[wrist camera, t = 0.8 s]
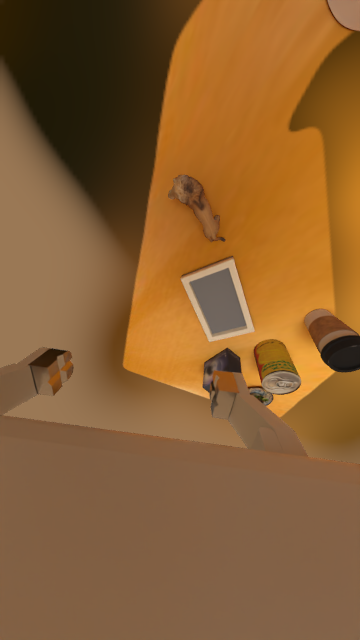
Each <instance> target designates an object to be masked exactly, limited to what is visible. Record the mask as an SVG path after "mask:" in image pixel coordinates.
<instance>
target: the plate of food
mask: <svg viewBox="0 0 360 640" xmlns="http://www.w3.org/2000/svg"><path fill="white" fill-rule="evenodd" d="M248 390H249V393H250V395H253V396H254V397H256V398H257V399H258V400H259V401H260V402H261V403H263V404H264V405H265V406H266V405H269V404H270V403H271V402H272V400H273V395H272V393H269V392H267V391H266V390H265V389H262V388H249V389H248Z"/></svg>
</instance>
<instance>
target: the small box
mask: <svg viewBox="0 0 360 640" xmlns="http://www.w3.org/2000/svg"><path fill="white" fill-rule="evenodd" d="M214 370H216V371H224V372H235V373H241V374H242V372H241V364H240V358H239V357H238V356H237V355H236V354H234V353H233V352H232V351H231V350H230V349H228V348H226V349H225V350H223V351H222V352H220V353H219V354H217V355H216V356H214V357H212V358H211V359H209V360H208V361H206V362H205V365H204V378H203V388H204V389H205V390H207V391H208V392H209V393H210V385H211V382H212V381H213V372H214Z"/></svg>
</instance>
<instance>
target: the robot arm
mask: <svg viewBox="0 0 360 640" xmlns="http://www.w3.org/2000/svg"><path fill="white" fill-rule="evenodd" d="M328 4H329V7H330V9H331V11H332V13H333V15H334V16H335V18H336V19H337V20H338V21H339V22H340V23H341V24H342V25H343V26H345V27H347V28H349V29H352V30H357V31H360V0H328ZM71 358H72V355H71V352H70V351H66V350H59V349H53V348H52V349H51V348H45V347H42V348H39V349H38V350H36V351H35V352H33V353H32V354H30V355H29V356H28V357H26V358H25V359H23V360H22V361H20V362H19V363H17V364H11V365H8V366H4V367H2V368H0V640H360V464H357V463H349V462H343V461H335V460H328V459H321V458H313V457H308V455H307V453H306V452H305V450H304V448H303V446H302V444H301V442H300V440H299V439H298V437H297V435H296V433H295V431H294V430H292V429H291V428H290V427H289V426H288V425H287V424H286V423H285V422H283V421H282V420H281V419H280V418H279V417H278V416H276V415H275V414H274V413H273V412H272V411H271V410H269V409H268V408H267V407H266V406H265V405H264V404H263V403H261V402H260V401H259V400H258V399H257V398H256V397H254V396H253V395H250V393H249V390H248V388H247V385H246V382H245V380H244V377H243V375H242V374H241V373H235V372H224V371H216V370H214V372H213V381H212V382H211V385H210V400H211V401H212V403H211V411H212V417H214V418H220V419H227V420H228V421H229V422H230V424H231V425H232V427H233V428H234V429H235V431H236V432H237V434H238V435H239V436H240V438H241V439H242V441H243V442H244V443H245V445H246V446H247V448H248V449H247V448H239V447H232V446H225V445H217V444H210V443H203V442H195V441H187V440H180V439H172V438H166V437H159V436H151V435H144V434H136V433H129V432H122V431H115V430H107V429H100V428H92V427H84V426H78V425H70V424H62V423H56V422H47V421H41V420H34V419H26V418H19V417H11V416H4V415H3V414H5V413H6V412H8V411H10V410H12V409H13V408H15V407H17V406H19V405H20V404H22V403H24V402H26V401H28V400H29V399H31V398H33V397H35V396H36V395H37V394H40V395H41V394H42V395H51V396H54V395H55V394H56V393H57V392H58V391H59V389H60V388H61V387H62V383H64V382H66V381H68V379H69V378H70V377H71V375H72V373H73V363H72V362H71V361H70V360H71Z"/></svg>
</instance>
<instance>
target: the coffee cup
mask: <svg viewBox="0 0 360 640" xmlns="http://www.w3.org/2000/svg"><path fill="white" fill-rule="evenodd" d="M304 322H305V325H306V327H307V329H308V330H309V333H310V335H311V337H312V339H313V341H314V343H315V345H316V347H317V349H318V351H319V352H320V353H321V358H322V360H323V361H324V363H325V364H327V365H328V366H329V367H330V368H331V369H333V370H334V371H337V372H352V371H356V370H359V369H360V336H359V335H358V333H356V332H355V331H354V330H352V329H351V328H350V327H348V326H347V325H346V324H344V323H343V322H342V321H340V320H339V319H338V318H336V317H335V316H334V315H332V314H331V313H330V312H329V311H327V310H324V309H317V310H313V311H311V312H310V313H308V314H307V315H306V317H305V320H304Z"/></svg>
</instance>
